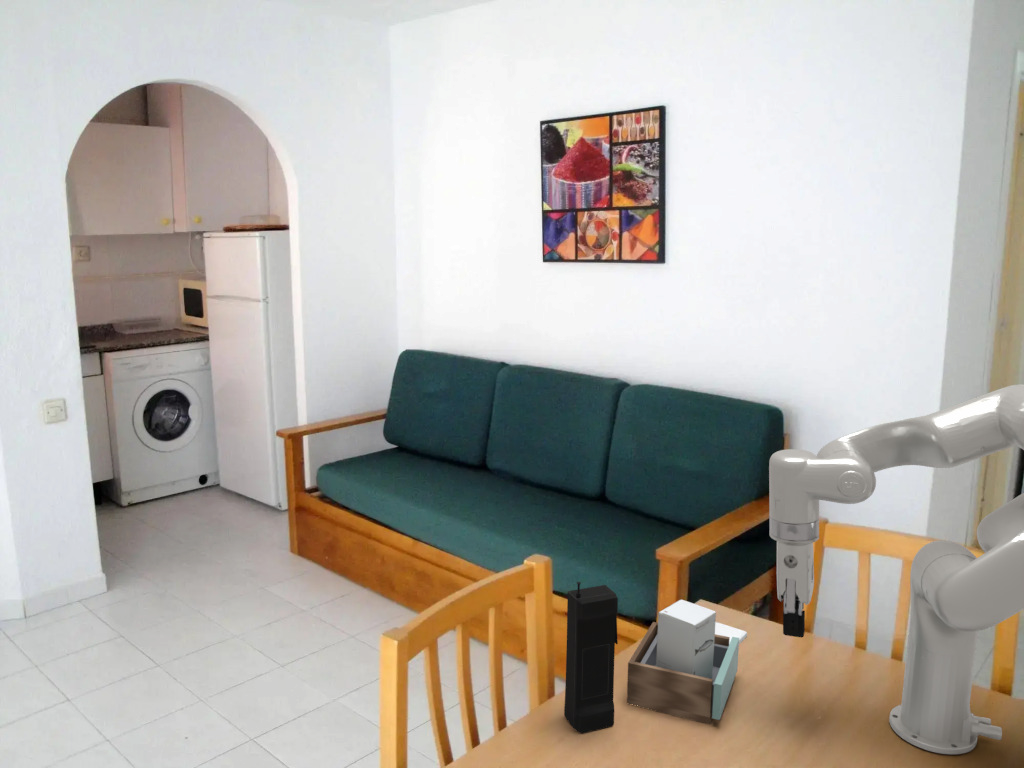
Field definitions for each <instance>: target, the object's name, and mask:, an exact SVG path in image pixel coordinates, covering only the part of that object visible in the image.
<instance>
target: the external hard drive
mask: <svg viewBox="0 0 1024 768" xmlns="http://www.w3.org/2000/svg"><path fill="white" fill-rule="evenodd" d="M715 634H716V635H721V636H726V637H730V638H729V644H730V642H731V639H732V637H736V638H739V645H740V644H741V643H742V642H743V641H744V640H745V639H746V638H747V637H748V632H747V631H745V630H743V629H739V628H736V627H734V626H731V625H727V624H724V623H721V622H719V621H715Z"/></svg>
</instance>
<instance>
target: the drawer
mask: <svg viewBox="0 0 1024 768" xmlns="http://www.w3.org/2000/svg"><path fill="white" fill-rule="evenodd" d="M657 635H658V633H657ZM657 635H656V637H655V639H654V640H653V642H652V644H651V645H650V647H649V649H648V651H647V652H646V654H645V656H644V657H643V659H642V661H641V663H643V664H647V665H652V666H656V658H657ZM739 649H740V644H739V638H736V637H732V639H731V642H730V644H729V647H728V646H724V645H719V644H714V656H713V673H712V678H710V679H713V685H712V704H711V711H712V712H713V713H712V719H713V720H718V721H720V720H721V717H722V715H723V711H724V709H725V706H726V704H727V700H728V697H729V694H730V692H731V689H732V686H733V683H734V680H735V678H736V675H737V672H738V666H739V665H738V664H739Z"/></svg>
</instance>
